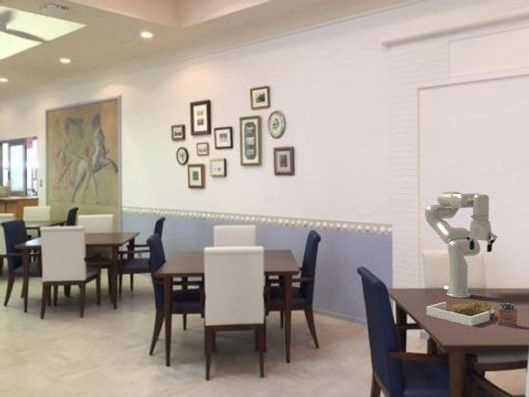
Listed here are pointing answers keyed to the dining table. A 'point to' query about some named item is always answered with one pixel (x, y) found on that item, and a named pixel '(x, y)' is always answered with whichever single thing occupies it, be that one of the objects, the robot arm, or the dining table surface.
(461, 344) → the dining table surface
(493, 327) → the dining table surface
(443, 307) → the box
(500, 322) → the lighter
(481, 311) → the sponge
